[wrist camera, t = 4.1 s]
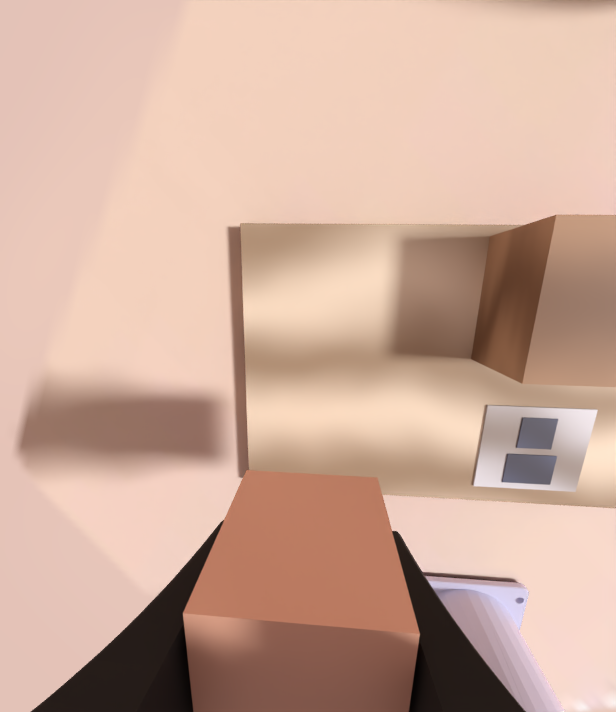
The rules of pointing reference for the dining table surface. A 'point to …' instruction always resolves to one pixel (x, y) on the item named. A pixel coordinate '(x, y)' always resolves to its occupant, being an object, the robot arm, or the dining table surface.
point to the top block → (302, 602)
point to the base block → (551, 302)
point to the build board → (404, 371)
